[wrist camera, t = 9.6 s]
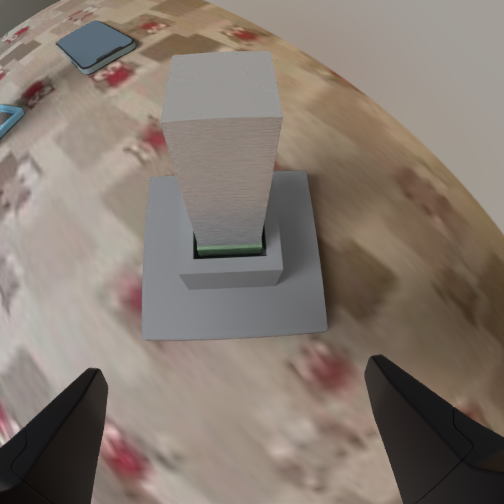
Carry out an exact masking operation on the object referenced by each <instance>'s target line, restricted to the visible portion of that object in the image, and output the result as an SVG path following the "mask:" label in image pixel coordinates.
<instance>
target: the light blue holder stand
mask: <svg viewBox="0 0 504 504" xmlns="http://www.w3.org/2000/svg"><path fill="white" fill-rule="evenodd" d="M0 111H1V112H6V113H11V114H13V115H12V116H11V117H10V118H9V119H8V120H7V121H6V122H5V123H4V124H2V125H1V126H0V138H1V137H2V136H3V135H4V134H5V133H6V132H7V131H8V130H9V129H10V128H11V127H12V126H13V125H14V124H15V123H16V122H17V121H18V120H19V119H20V118H21V117H22V116H23V115H24V112H23V110H22V108H19V107H13V106H7V105H0Z"/></svg>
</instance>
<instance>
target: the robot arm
mask: <svg viewBox="0 0 504 504" xmlns="http://www.w3.org/2000/svg"><path fill="white" fill-rule="evenodd" d="M365 382H366V386H367V390H368V394H369V398H370V402H371V407H372V411H373V415H374V418H375V421H376V424H377V426H378V429H379V432H380V435H381V438H382V441H383V443H384V446H385V449H386V452H387V455H388V458H389V461H390V464H391V467H392V470H393V473H394V476H395V479H396V482H397V485H398V488H399V492H400V495H401V498H402V501H403V504H504V437H502V436H501V435H499V434H497V433H495V432H493V431H492V430H490V429H488V428H486V427H485V426H483V425H481V424H479V423H478V422H476V421H474V420H473V419H471V418H470V417H468V416H467V415H465V414H464V413H462V412H461V411H459V410H458V409H457V408H455V407H453V406H452V405H451V404H450V403H448V402H447V401H445V400H444V399H443V398H441V397H440V396H438V395H437V394H436V393H434V392H433V391H432V390H430V389H429V388H427V387H426V386H425V385H423V384H422V383H420V382H419V381H418V380H416V379H415V378H414V377H412V376H411V375H409V374H408V373H407V372H405V371H404V370H403V369H401V368H400V367H398V366H397V365H396V364H394V363H393V362H391V361H390V360H389V359H387V358H386V357H385V356H383V355H374V356H371V357H370V358H369V360H368V363H367V367H366V370H365ZM107 396H108V385H107V382H106V380H105V378H104V376H103V374H102V371H101V370H100V369H98V368H88V369H87V370H86V371H84V372H83V373H82V374H81V375H80V376H79V377H78V378H77V379H76V380H75V381H73V382H72V383H71V384H70V385H69V386H68V387H67V388H66V389H65V390H64V391H62V392H61V393H60V394H59V395H58V396H57V397H56V398H55V399H54V400H53V401H52V402H51V403H49V404H48V405H47V406H46V407H45V408H44V409H43V410H42V411H41V412H40V413H39V414H38V415H36V416H35V417H34V418H33V419H32V420H31V421H30V422H29V423H28V424H27V425H26V427H24V428H22V429H21V430H20V431H19V432H18V433H17V434H16V435H15V436H14V437H13V438H11V439H10V440H9V441H8V442H7V443H5V444H4V445H3V446H2V447H1V448H0V504H91V498H92V491H93V485H94V479H95V473H96V467H97V461H98V456H99V451H100V446H101V441H102V436H103V431H104V424H105V414H106V405H107Z"/></svg>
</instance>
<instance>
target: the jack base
mask: <svg viewBox="0 0 504 504" xmlns="http://www.w3.org/2000/svg"><path fill="white" fill-rule="evenodd" d="M261 241H262V250H261V253H247V254H225V255H203V256H199V254H198V251H197V241H196V238H195V235H194V232H193V228H192V225H191V222H190V219H189V216H188V213H187V210H186V207H185V203H184V200H183V197H182V194H181V191H180V187H179V184H178V181H177V178H176V176H163V177H151V178H150V180H149V190H148V200H147V211H146V224H145V238H144V255H143V280H142V339H143V340H147V341H185V340H221V339H243V338H260V337H274V336H287V335H299V334H310V333H320V332H325V331H328V326H327V316H326V307H325V298H324V289H323V281H322V273H321V265H320V258H319V250H318V243H317V236H316V229H315V222H314V216H313V209H312V203H311V197H310V191H309V185H308V179H307V173H306V171H273V175H272V181H271V187H270V192H269V198H268V204H267V209H266V215H265V220H264V226H263V231H262V237H261Z"/></svg>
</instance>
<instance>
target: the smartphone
mask: <svg viewBox="0 0 504 504" xmlns="http://www.w3.org/2000/svg"><path fill="white" fill-rule="evenodd" d="M56 45H57V47H58V48H59V49H60V50H61V51H62V52H63V53H64V55H65V56H66V57H67V58H68V59H69V60H70V61H71V62H72V63H73V64H74V65H75V66H76V67H77V68H78V69H79V70H80V71H81V72H82V73H83V74H91V73H93V72H95V71H97V70H98V69H100V68H102V67H103V66H105V65H107V64H108V63H110V62H112V61H114V60H116V59H117V58H119V57H121V56H123V55H125V54H126V53H128V52H130V51H132V50H133V49H134V48H135V42H134V40H133V39H131V38H129V37H127V36H126V35H124V34H122V33H120V32H118V31H117V30H115V29H113V28H111V27H109V26H107V25H105V24H104V23H102V22H100V21H92V22H90V23H88V24H86V25H84V26H82V27H81V28H79V29H77V30H75V31H74V32H72V33H70V34H68V35H67V36H65V37H63V38H62V39H60V40H59V41H58V42H57V44H56Z"/></svg>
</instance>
